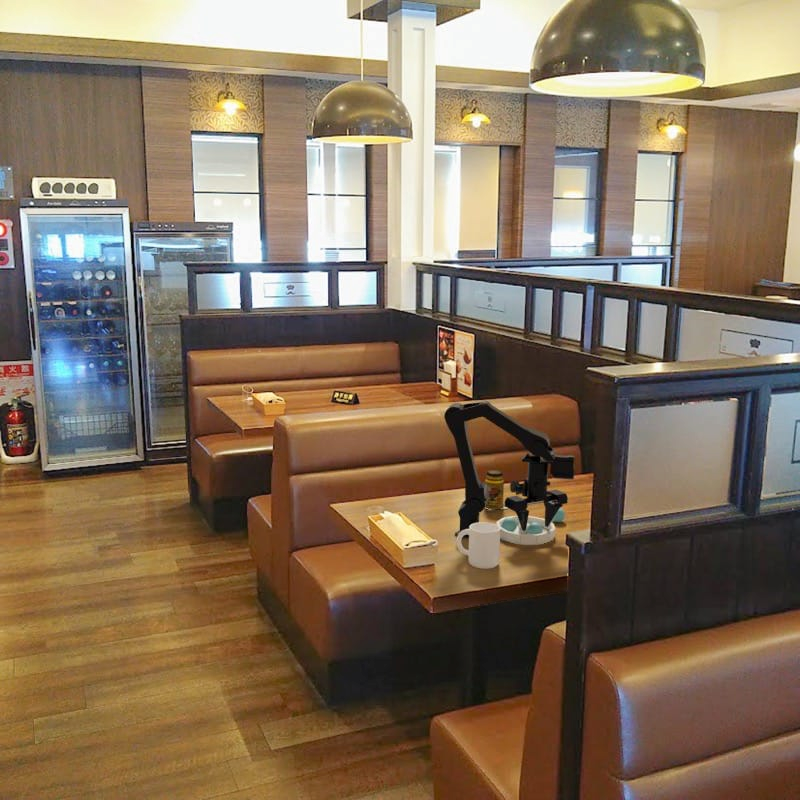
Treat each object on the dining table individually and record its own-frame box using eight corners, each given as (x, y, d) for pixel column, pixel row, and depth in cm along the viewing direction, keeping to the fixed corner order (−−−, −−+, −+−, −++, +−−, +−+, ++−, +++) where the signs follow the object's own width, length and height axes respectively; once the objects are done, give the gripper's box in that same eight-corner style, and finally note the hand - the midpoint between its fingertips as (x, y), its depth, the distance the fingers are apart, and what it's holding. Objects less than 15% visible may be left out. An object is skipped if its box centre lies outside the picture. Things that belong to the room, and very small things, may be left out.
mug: (450, 563, 228) (451, 527, 226) (461, 553, 235) (462, 518, 233) (493, 571, 223) (494, 534, 221) (502, 560, 230) (504, 524, 228)
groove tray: (540, 549, 239) (540, 539, 238) (486, 537, 248) (486, 527, 247) (563, 532, 253) (563, 522, 252) (511, 521, 262) (511, 512, 261)
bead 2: (543, 535, 247) (544, 521, 247) (541, 540, 243) (541, 526, 242) (528, 534, 249) (529, 519, 248) (525, 538, 245) (526, 524, 244)
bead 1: (512, 535, 247) (513, 521, 246) (499, 532, 250) (499, 518, 249) (519, 531, 251) (519, 517, 250) (505, 528, 253) (506, 514, 252)
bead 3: (561, 525, 259) (562, 511, 258) (548, 522, 261) (548, 508, 261) (567, 521, 263) (567, 507, 262) (553, 518, 265) (554, 505, 264)
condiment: (487, 511, 271) (489, 475, 269) (477, 503, 279) (478, 468, 277) (508, 509, 274) (510, 473, 271) (498, 501, 282) (499, 466, 279)
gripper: (546, 466, 254) (544, 515, 257) (494, 473, 245) (492, 524, 248) (570, 475, 244) (567, 527, 247) (517, 483, 235) (514, 536, 238)
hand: (535, 528), depth 245 cm, fingers open, 8 cm apart
